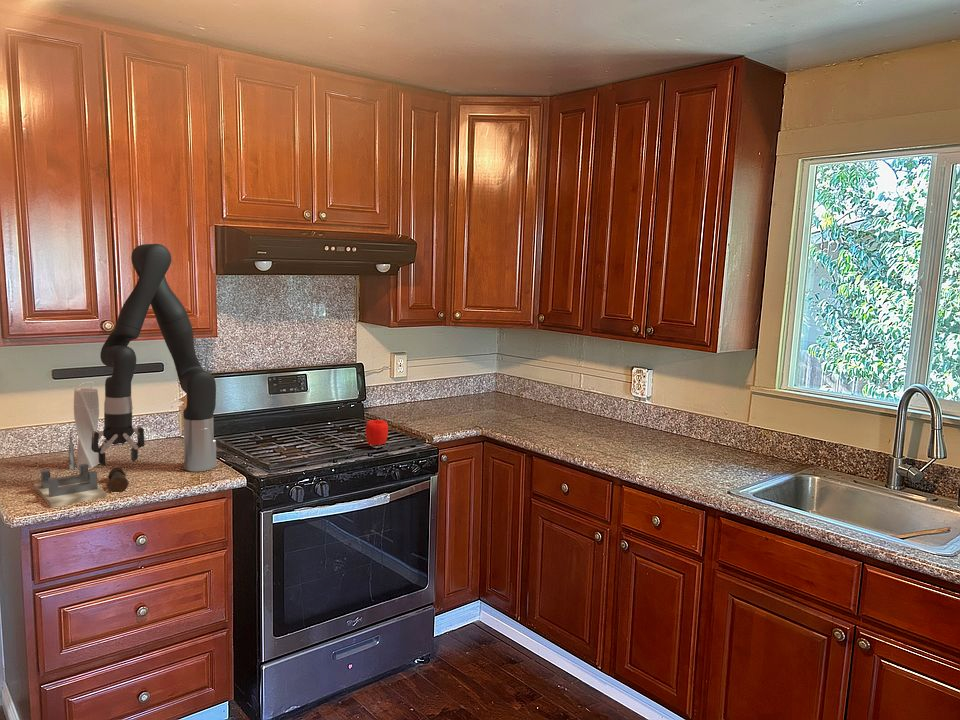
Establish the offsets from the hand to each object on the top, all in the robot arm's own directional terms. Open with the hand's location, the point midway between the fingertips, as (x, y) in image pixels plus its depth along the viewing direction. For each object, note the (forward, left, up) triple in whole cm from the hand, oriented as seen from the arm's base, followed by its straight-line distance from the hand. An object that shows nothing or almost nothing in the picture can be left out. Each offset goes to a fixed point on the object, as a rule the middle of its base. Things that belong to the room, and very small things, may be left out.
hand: (118, 462), depth 214 cm
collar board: (+13, 0, -7) cm, 15 cm away
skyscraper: (+2, -25, -7) cm, 26 cm away
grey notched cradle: (+13, 0, -5) cm, 14 cm away
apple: (-89, +9, -7) cm, 89 cm away
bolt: (0, 0, -7) cm, 7 cm away
